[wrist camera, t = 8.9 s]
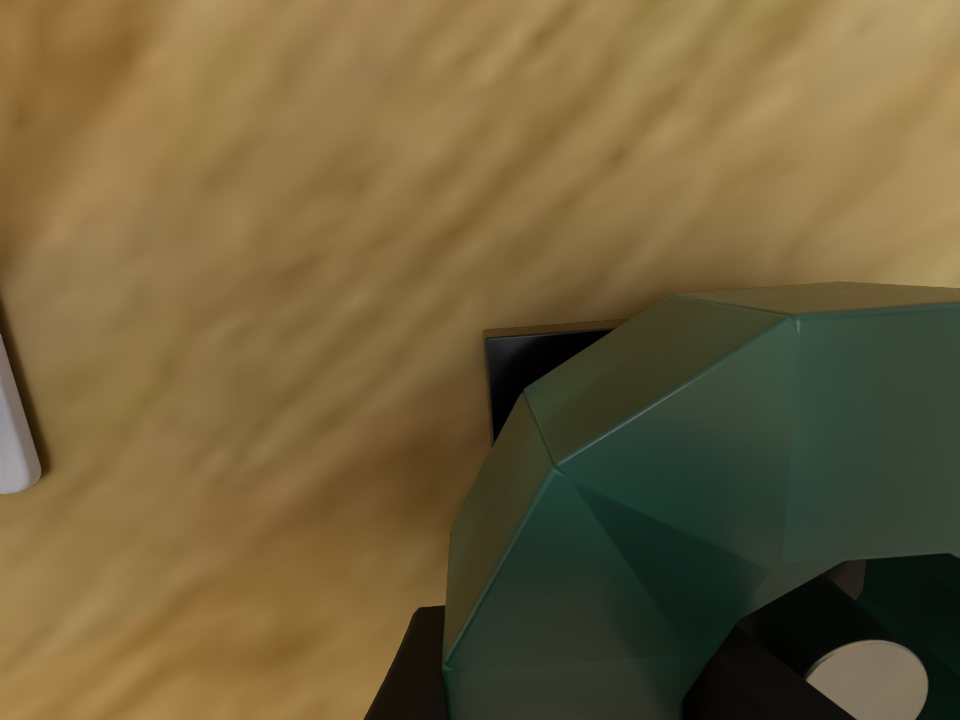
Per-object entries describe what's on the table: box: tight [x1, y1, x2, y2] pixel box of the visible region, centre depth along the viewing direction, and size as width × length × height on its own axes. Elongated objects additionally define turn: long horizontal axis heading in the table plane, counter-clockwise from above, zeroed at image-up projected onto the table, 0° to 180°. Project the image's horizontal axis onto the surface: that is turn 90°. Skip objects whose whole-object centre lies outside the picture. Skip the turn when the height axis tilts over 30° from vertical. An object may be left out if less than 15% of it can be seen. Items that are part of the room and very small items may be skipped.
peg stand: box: [483, 319, 929, 720], centre depth 9 cm, size 10×10×6 cm
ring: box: [441, 282, 960, 720], centre depth 8 cm, size 12×12×3 cm
